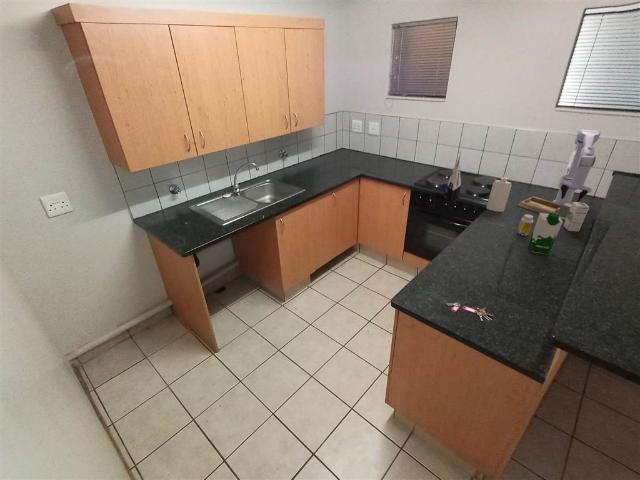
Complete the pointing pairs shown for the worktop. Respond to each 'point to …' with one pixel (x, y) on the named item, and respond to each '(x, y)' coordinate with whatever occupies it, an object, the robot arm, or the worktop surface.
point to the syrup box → (576, 216)
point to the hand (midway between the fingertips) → (570, 200)
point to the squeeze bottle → (499, 195)
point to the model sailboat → (453, 185)
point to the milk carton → (545, 232)
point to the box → (564, 210)
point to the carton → (540, 205)
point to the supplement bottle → (525, 225)
